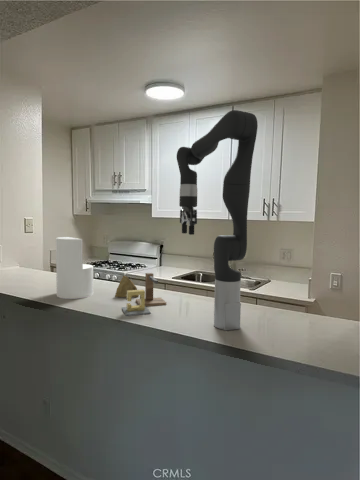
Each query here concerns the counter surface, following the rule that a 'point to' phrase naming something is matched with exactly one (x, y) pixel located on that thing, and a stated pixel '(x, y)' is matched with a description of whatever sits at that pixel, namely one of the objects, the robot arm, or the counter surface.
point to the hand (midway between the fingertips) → (187, 233)
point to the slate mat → (135, 311)
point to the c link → (142, 300)
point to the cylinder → (72, 270)
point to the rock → (125, 287)
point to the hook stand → (150, 292)
